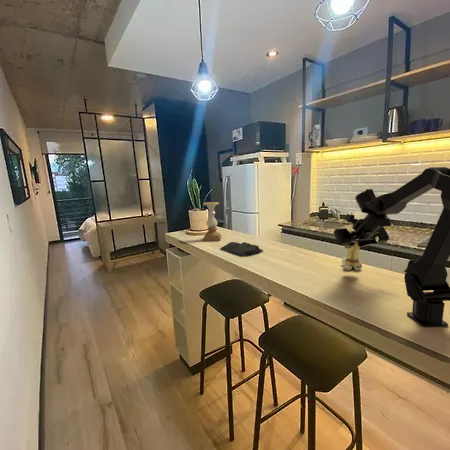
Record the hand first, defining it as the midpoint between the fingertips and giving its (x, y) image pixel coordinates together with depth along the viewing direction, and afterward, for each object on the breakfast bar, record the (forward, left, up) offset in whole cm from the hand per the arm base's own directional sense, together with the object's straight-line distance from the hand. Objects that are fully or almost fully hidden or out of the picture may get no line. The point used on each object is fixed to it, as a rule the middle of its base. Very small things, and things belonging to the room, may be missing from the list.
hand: (350, 247), depth 103 cm
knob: (-1, 0, -7) cm, 7 cm away
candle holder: (+68, +58, -11) cm, 90 cm away
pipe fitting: (+7, -3, -11) cm, 14 cm away
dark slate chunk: (+39, +41, -12) cm, 57 cm away
